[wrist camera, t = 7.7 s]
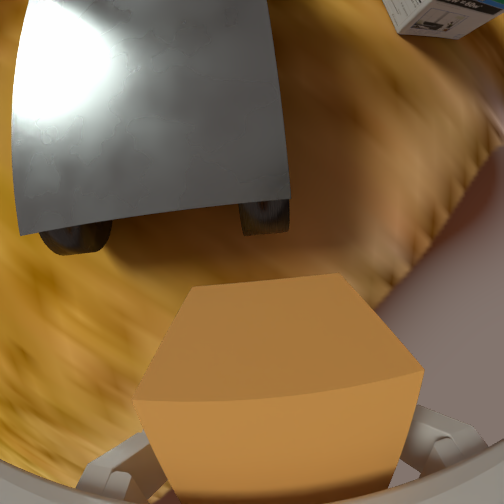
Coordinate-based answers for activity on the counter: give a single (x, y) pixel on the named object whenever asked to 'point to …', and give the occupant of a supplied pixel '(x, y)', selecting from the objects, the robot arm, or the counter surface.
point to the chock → (278, 394)
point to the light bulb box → (441, 16)
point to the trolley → (145, 116)
